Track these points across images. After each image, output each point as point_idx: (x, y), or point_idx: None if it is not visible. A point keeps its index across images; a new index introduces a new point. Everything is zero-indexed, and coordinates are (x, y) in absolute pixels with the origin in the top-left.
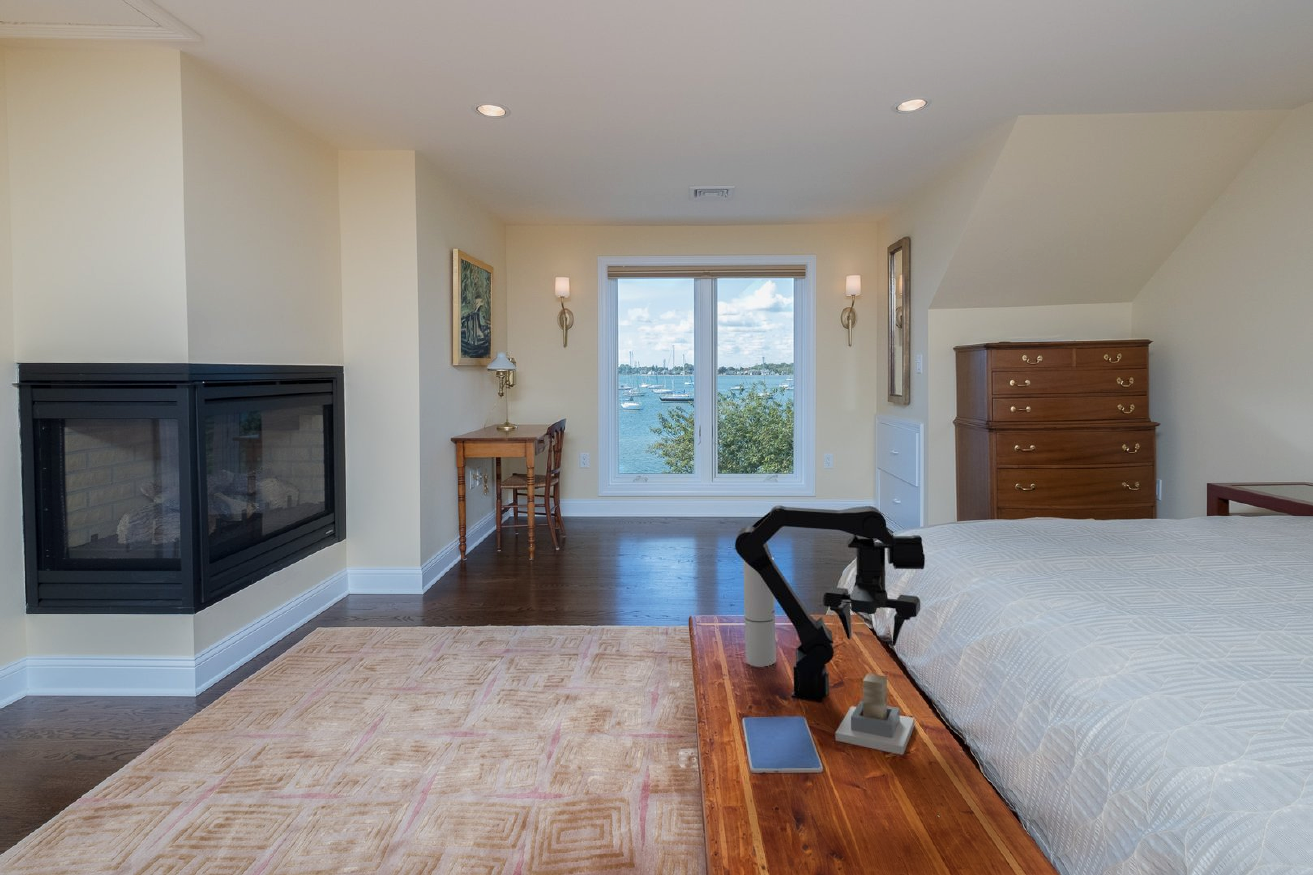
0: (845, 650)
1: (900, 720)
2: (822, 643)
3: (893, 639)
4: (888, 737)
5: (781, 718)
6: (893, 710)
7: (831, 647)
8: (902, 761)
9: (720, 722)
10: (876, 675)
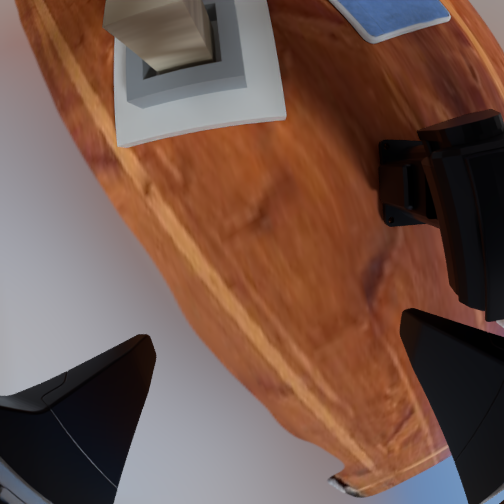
0: (381, 426)
1: (141, 111)
2: (495, 137)
3: (127, 348)
4: None
5: (402, 21)
6: (138, 78)
7: (453, 148)
8: None
9: (465, 10)
10: (140, 6)
